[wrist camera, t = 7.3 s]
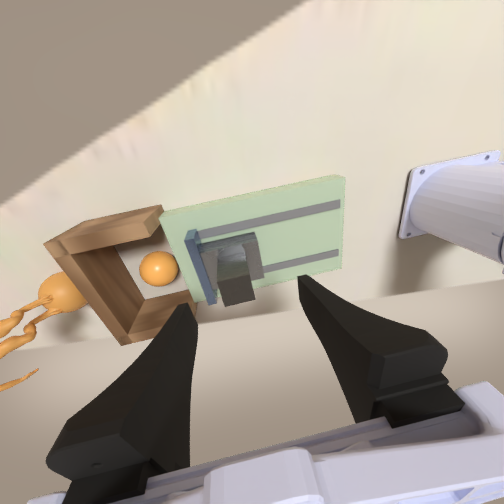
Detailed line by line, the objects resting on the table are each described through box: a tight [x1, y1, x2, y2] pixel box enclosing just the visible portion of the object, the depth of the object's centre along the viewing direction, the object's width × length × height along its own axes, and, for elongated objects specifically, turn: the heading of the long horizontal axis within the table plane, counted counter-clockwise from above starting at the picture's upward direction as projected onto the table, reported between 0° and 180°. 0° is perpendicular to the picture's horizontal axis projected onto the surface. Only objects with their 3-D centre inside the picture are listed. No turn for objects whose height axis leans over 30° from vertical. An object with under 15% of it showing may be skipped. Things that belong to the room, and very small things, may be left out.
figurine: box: [0, 272, 88, 392], centre depth 16 cm, size 8×6×12 cm
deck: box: [159, 175, 345, 303], centre depth 21 cm, size 17×10×2 cm, turn 100°
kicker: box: [184, 229, 265, 307], centre depth 17 cm, size 6×7×6 cm
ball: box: [139, 251, 178, 286], centre depth 20 cm, size 4×4×4 cm
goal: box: [43, 205, 197, 346], centre depth 19 cm, size 7×11×5 cm, turn 10°
